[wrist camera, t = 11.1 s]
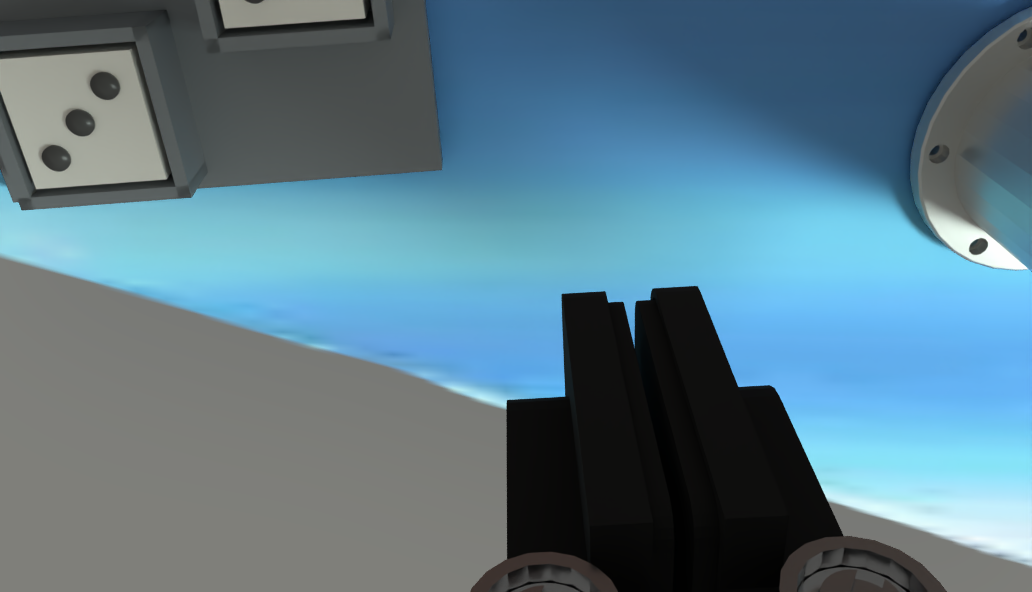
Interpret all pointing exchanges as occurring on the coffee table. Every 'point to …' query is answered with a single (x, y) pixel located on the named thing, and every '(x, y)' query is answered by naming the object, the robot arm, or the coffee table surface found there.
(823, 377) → the coffee table surface
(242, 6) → the button two
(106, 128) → the button three
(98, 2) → the button board
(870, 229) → the coffee table surface
